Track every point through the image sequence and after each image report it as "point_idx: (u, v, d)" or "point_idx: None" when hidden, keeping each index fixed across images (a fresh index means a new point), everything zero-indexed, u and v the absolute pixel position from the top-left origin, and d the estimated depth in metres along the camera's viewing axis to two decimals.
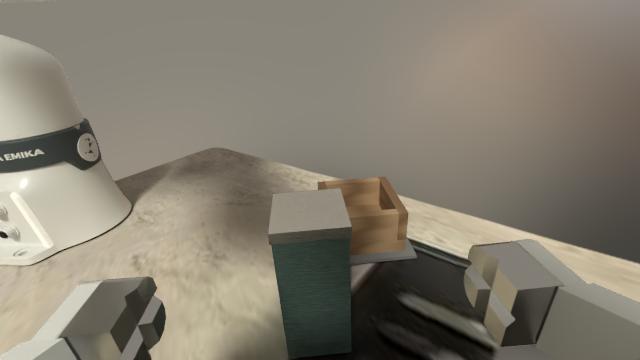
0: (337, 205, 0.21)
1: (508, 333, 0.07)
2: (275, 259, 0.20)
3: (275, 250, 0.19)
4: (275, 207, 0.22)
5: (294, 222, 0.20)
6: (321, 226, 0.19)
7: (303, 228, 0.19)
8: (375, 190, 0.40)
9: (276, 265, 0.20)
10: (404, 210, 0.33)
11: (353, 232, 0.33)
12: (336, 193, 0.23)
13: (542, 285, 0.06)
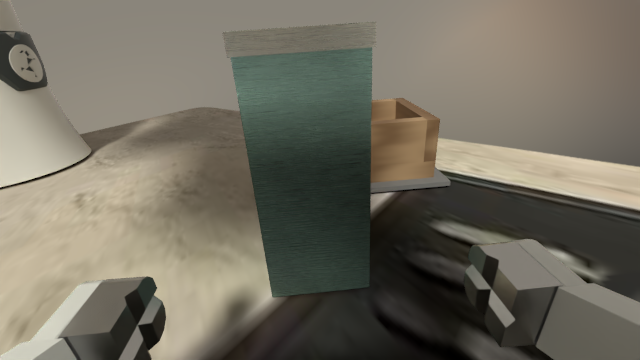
0: None
1: (508, 333, 0.07)
2: (240, 95, 0.11)
3: (239, 74, 0.11)
4: None
5: None
6: None
7: None
8: (390, 114, 0.31)
9: (242, 110, 0.11)
10: (434, 117, 0.24)
11: None
12: None
13: (542, 285, 0.06)
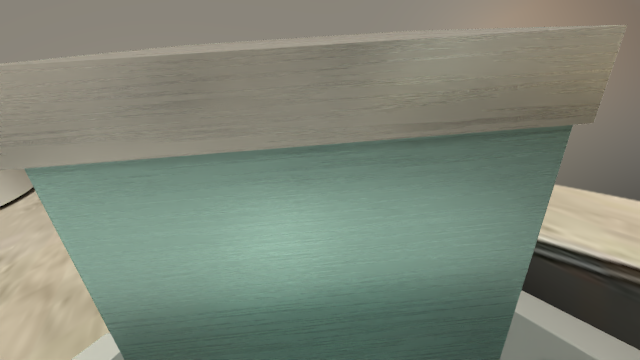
0: (427, 31, 0.05)
1: None
2: (92, 277, 0.03)
3: (72, 219, 0.03)
4: (158, 48, 0.05)
5: (208, 48, 0.03)
6: None
7: (248, 47, 0.03)
8: None
9: (110, 314, 0.03)
10: None
11: None
12: None
13: None
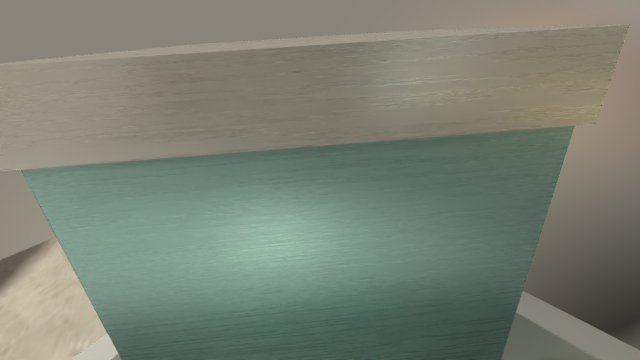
0: (427, 31, 0.05)
1: None
2: (90, 279, 0.03)
3: (70, 220, 0.03)
4: (157, 48, 0.05)
5: (206, 48, 0.03)
6: (385, 40, 0.03)
7: (246, 47, 0.02)
8: None
9: (108, 315, 0.03)
10: None
11: None
12: (402, 31, 0.06)
13: None
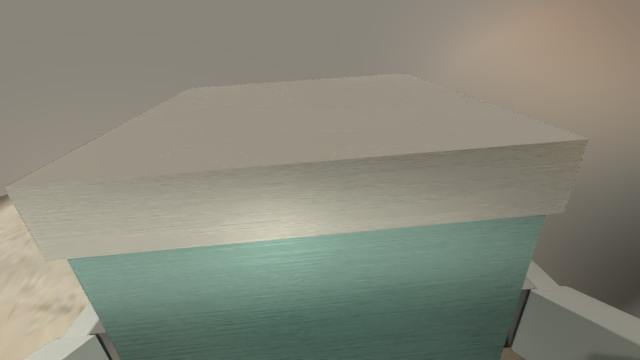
0: (421, 92, 0.05)
1: None
2: (120, 339, 0.04)
3: (105, 294, 0.03)
4: (171, 106, 0.05)
5: (223, 136, 0.04)
6: (381, 144, 0.03)
7: (262, 156, 0.03)
8: None
9: None
10: None
11: None
12: (398, 78, 0.07)
13: None
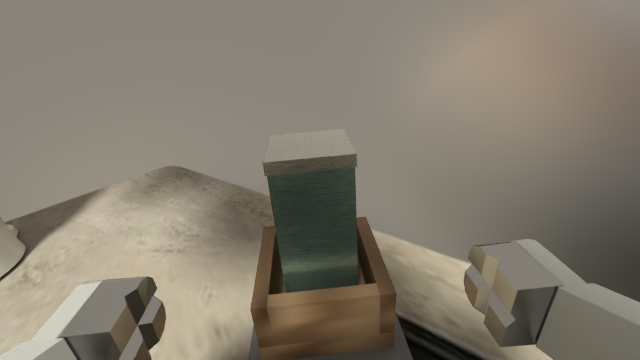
0: (340, 140, 0.19)
1: (508, 333, 0.07)
2: (272, 195, 0.18)
3: (271, 183, 0.17)
4: (272, 144, 0.20)
5: (292, 153, 0.18)
6: (322, 155, 0.17)
7: (302, 157, 0.17)
8: None
9: (273, 203, 0.18)
10: (389, 287, 0.19)
11: (304, 325, 0.19)
12: (339, 132, 0.21)
13: (542, 285, 0.06)
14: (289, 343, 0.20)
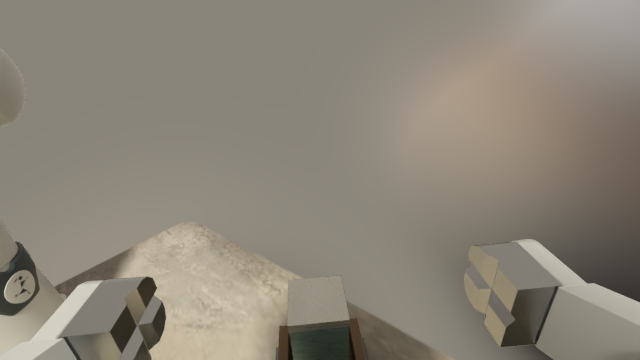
0: (338, 295, 0.28)
1: (508, 333, 0.07)
2: (292, 341, 0.26)
3: (292, 336, 0.26)
4: (291, 296, 0.28)
5: (306, 314, 0.26)
6: (327, 318, 0.26)
7: (313, 321, 0.25)
8: None
9: (292, 346, 0.26)
10: None
11: None
12: (338, 281, 0.29)
13: (542, 285, 0.06)
14: None
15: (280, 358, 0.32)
